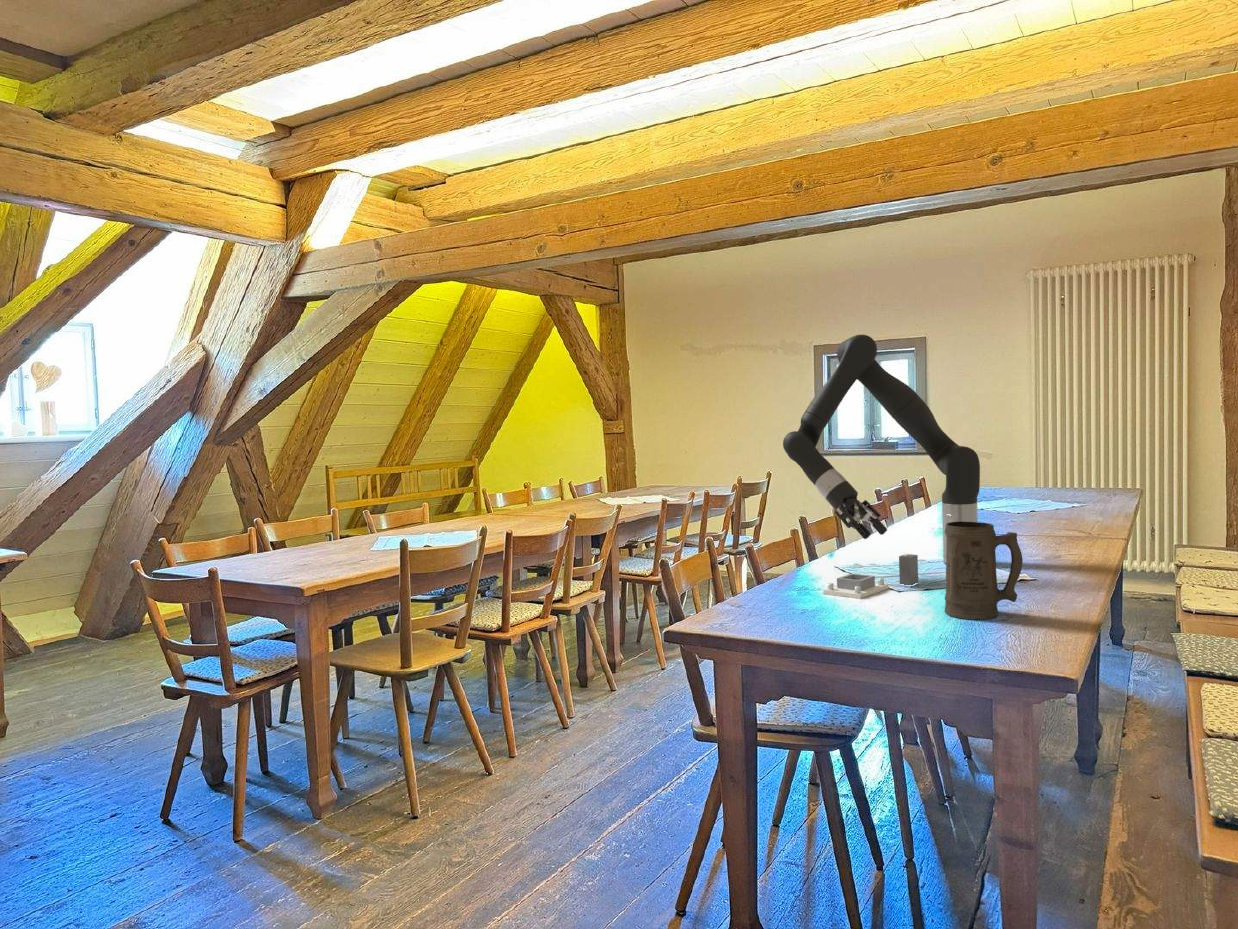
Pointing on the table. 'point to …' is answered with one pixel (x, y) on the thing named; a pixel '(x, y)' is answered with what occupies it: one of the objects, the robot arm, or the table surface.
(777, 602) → the table surface
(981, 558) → the beer stein
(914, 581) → the block
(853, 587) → the plate
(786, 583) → the table surface
